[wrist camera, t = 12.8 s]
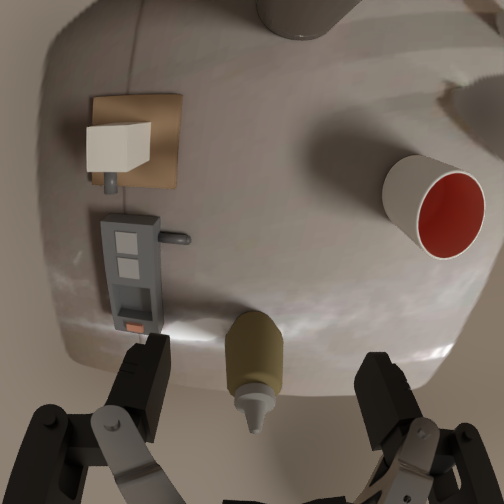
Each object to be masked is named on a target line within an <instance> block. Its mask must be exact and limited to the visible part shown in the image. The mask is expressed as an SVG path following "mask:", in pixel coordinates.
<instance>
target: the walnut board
mask: <svg viewBox="0 0 504 504" xmlns="http://www.w3.org/2000/svg"><path fill="white" fill-rule="evenodd" d="M182 99H183V95H177V94H150V95H122V96H106V97H94V100H93V117H92V126H97V125H104V124H111V123H124V122H151V132H150V158H149V161H147V162H145V163H143V164H141V165H139V166H138V167H136V168H134V169H132V170H130V171H128V172H117V186H134V187H152V188H167V189H175V188H176V184H177V164H178V147H179V133H180V121H181V109H182ZM92 185H104V172H92Z"/></svg>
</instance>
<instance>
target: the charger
mask: <svg viewBox="0 0 504 504" xmlns="http://www.w3.org/2000/svg"><path fill="white" fill-rule="evenodd" d="M150 132H151V122H124V123H111V124H104V125H97V126H91V127H87V141H86V149H87V172H104V193H105V194H115V193H117V192H118V190H117V172H128V171H130V170H132V169H134V168H136V167H138V166H139V165H141V164H143V163H145V162H147V161H149V158H150Z"/></svg>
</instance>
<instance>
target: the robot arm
mask: <svg viewBox="0 0 504 504" xmlns="http://www.w3.org/2000/svg"><path fill="white" fill-rule="evenodd" d="M360 1H362V0H257V11H258V14H259V17H260V19H261V20H262V21H263V23H264V24H265V25H266V26H267V27H268V28H269V29H270V30H271V31H273V32H274V33H276V34H278V35H280V36H282V37H285V38H288V39H292V40H302V41H303V40H312V39H315V38H318V37H320V36H322V35H324V34H326V33H327V32H328V31H329V30H330V29H331V28H332V27H333V26H334V25H335V24H337V23H338V22H339V21H340V20H341V19H342V18H343V17H344V16H345V15H346V14H347V13H348V12H349V11H351V10H352V9H353V8H354V7H355V6H356V5H357V4H358V3H359V2H360ZM170 370H171V352H170V337H169V335H164V334H158V333H152V332H151V333H150V334H149V336H148V338H147V341H146V344H145V345H144V344H138V343H136V344H134V345H133V346H132V347H131V348H130V349H129V350H128V351H127V353H126V355H125V357H124V360H123V363H122V364H121V367H120V369H119V372H118V374H117V376H116V379H115V381H114V384H113V386H112V389H111V392H110V394H109V396H108V399H107V401H106V403H105V405H104V406H103V407H101V408H99V409H97V410H96V411H95V412H94V413H91V414H66V412H65V411H64V410H63V409H62V408H61V407H59V406H57V405H54V404H47V405H43V406H41V407H39V408H38V409H37V410H36V411H35V412H34V414H33V417H32V419H31V421H30V424H29V426H28V429H27V431H26V434H25V436H24V439H23V441H22V444H21V447H20V449H19V452H18V455H17V458H16V461H15V463H14V466H13V469H12V472H11V475H10V478H9V482H8V485H7V489H6V492H5V495H4V499H3V503H2V504H81V499H82V494H83V489H84V485H85V480H86V476H87V471H88V467H89V466H109V468H110V470H111V472H112V474H113V475H114V478H115V482H116V484H117V486H118V488H119V490H120V492H121V494H122V496H123V497H124V499H125V501H126V502H127V504H186V503H185V501H184V500H183V498H182V497H181V496H180V494H179V493H178V492H177V490H176V488H175V487H174V486H173V484H172V483H171V481H170V480H169V478H168V477H167V475H166V474H165V472H164V471H163V469H162V468H161V467H160V465H159V464H157V463H156V461H155V460H154V458H153V456H152V455H151V453H150V452H149V450H148V448H147V446H146V444H145V443H146V442H149V443H154V439H155V434H156V430H157V426H158V421H159V417H160V413H161V409H162V405H163V400H164V396H165V392H166V388H167V384H168V380H169V376H170ZM354 389H355V393H356V396H357V399H358V403H359V406H360V409H361V413H362V416H363V419H364V423H365V426H366V430H367V433H368V437H369V440H370V444H371V448H372V451H375V450H382V451H383V455H382V456H381V457H380V459H379V461H378V463H377V465H376V467H375V469H374V471H373V473H372V475H371V477H370V479H369V481H368V483H367V485H366V486H365V488H364V490H363V491H362V493H361V494H360V495H359V496H358V497H357V498H356V500H355V501H354V502H353V503H349V502H346V499H345V496H341V497H333V498H324V499H316V500H313V501H310V502H306V503H303V504H426V501H427V498H428V500H429V504H504V501H503V498H502V494H501V491H500V488H499V485H498V482H497V479H496V476H495V473H494V470H493V467H492V465H491V462H490V459H489V457H488V454H487V452H486V449H485V447H484V444H483V442H482V439H481V437H480V434H479V432H478V430H477V429H476V428H475V427H474V426H473V425H472V424H469V423H461V424H459V425H458V426H457V427H456V428H455V430H448V429H440V428H438V426H437V424H436V423H435V422H434V421H432V420H431V419H428V418H425V417H423V415H422V413H421V411H420V408H419V406H418V404H417V402H416V399H415V397H414V395H413V393H412V390H410V389H411V388H410V386H409V384H408V383H407V379H406V377H405V375H404V373H403V371H402V370H401V369H400V368H399V367H398V366H397V365H396V364H392V362H391V360H390V358H389V356H388V354H387V353H386V352H369V353H367V355H366V357H365V359H364V361H363V363H362V364H361V366H360V368H359V370H358V372H357V374H356V376H355V380H354ZM455 465H456V466H457V469H458V472H459V476H460V479H461V488H460V490H459V489H458V485H457V482H456V478H455V475H454V472H453V469H452V467H453V466H455ZM222 504H265V503H260V502H256V501H237V500H236V501H235V500H223V502H222Z"/></svg>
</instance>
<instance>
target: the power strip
mask: <svg viewBox="0 0 504 504" xmlns="http://www.w3.org/2000/svg"><path fill="white" fill-rule="evenodd" d="M100 223H101V235H102V245H103V255H104V263H105V271H106V278H107V285H108V292H109V298H110V304H111V309H112V315H113V320H114V325H115V330H121V331H126V332H132V333H138V334H144V335H149V334H150V333H151V332H152V333H158V334H161V331H162V328H163V325H164V319H163V304H162V285H161V258H160V242H162V243H172V244H182V245H188V244H190V243H191V237H190V236H188V235H179V234H169V233H160V217H153V216H141V215H128V214H115V213H110V214H108V215H107V216H106V217H105V218H104V219H102V220H101V221H100Z"/></svg>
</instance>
